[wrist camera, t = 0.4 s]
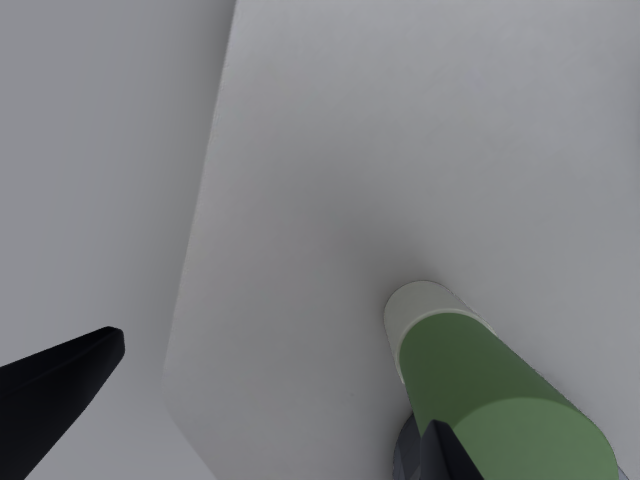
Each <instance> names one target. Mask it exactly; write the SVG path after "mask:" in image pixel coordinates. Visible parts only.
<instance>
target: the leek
mask: <svg viewBox="0 0 640 480" xmlns="http://www.w3.org/2000/svg"><path fill="white" fill-rule="evenodd" d="M384 325H385V329H386V333H387V336H388V340H389V344H390V347H391V351H392V354H393V358H394V362H395V365H396V369H397V372H398V375H399V377H400V379H401V381H402V382H403V384H404V385H405V387H406V389H407V393H408V396H409V399H410V403H411V406H412V409H413V413H414V416H415V420H416V423H417V426H418V430H419V433H420V436H421V438H422V435H423V434H424V432H425V430H426V428H427V426H428V424H429V422H430V421H431V420H432V419H436V420H440V421H443V422H446V423H448V424H449V425H450V427H451V428H452V430H453V431H454V433H455V434H456V436H457V438H458V439H459V441H460V442H461V444H462V445H463V447H464V448H465V450H466V451H467V453H468V455H469V456H470V458H471V459H472V461H473V462H474V464H475V465H476V467H477V469H478V470H479V472H480V473H481V475H482V476H483V478H484V479H485V480H619V473H618V466H617V462H616V458H615V455H614V452H613V450H612V448H611V446H610V444H609V442H608V440H607V439H606V437H605V436H604V434H603V433H602V432H601V431H600V429H599V428H598V427H597V426H596V425H595V424H594V423H593V422H592V421H591V420H590V419H589V418H587V417H586V416H585V415H584V414H583V413H582V412H581V411H580V410H578V409H577V408H576V407H575V406H574V405H573V404H572V403H571V402H569V401H568V400H567V399H566V398H565V397H564V396H563V395H562V394H560V393H559V392H558V391H557V390H556V389H555V388H554V387H553V386H552V385H550V384H549V383H548V382H547V381H546V380H545V379H544V378H543V377H541V376H540V375H539V374H538V373H537V372H536V371H535V370H534V369H532V368H531V367H530V366H529V365H528V364H527V363H526V362H525V361H523V360H522V359H521V358H520V357H519V356H518V355H517V354H516V353H514V352H513V351H512V350H511V349H510V348H509V347H508V346H507V345H506V344H504V343H503V342H502V341H501V340H500V339H499V338H498V336H497V334H496V333H495V331H494V330H493V329H492V327H491V326H490V325H489V324H488V323H487V322H486V321H484V320H483V319H482V318H481V317H480V316H479V315H477V314H476V313H475V312H474V311H473V310H472V309H470V308H469V307H468V306H467V305H466V304H465V303H463V302H462V301H461V300H460V299H459V298H457V297H456V296H455V295H454V294H453V293H452V292H450V291H449V290H448V289H447V288H445V287H444V286H442V285H440V284H437V283H434V282H430V281H416V282H411V283H408V284H406V285H404V286H402V287H400V288H399V289H398V290H396V291H395V292H394V293H393V294H392V296H391V297H390V298H389V300H388V302H387V304H386V307H385V311H384Z"/></svg>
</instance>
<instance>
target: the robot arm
mask: <svg viewBox="0 0 640 480" xmlns="http://www.w3.org/2000/svg"><path fill="white" fill-rule="evenodd" d="M124 353H125V344H124V334H123V331H122V330H121V329H118V328H114V327H110V326H107V327H104V328H101V329H98V330H96V331H93V332H91V333H88V334H85V335H83V336H80V337H78V338H75V339H72V340H70V341H67V342H65V343H62V344H59V345H57V346H54V347H52V348H49V349H46V350H44V351H41V352H38V353H36V354H33V355H31V356H28V357H25V358H23V359H20V360H18V361H15V362H13V363H10V364H7V365H5V366H2V367H0V480H24V479H25V478H26V477H27V476H28V475H29V473H30V472H31V471H32V470H33V469H34V468H35V466H36V465H37V464H38V463H39V462H40V461H41V460H42V458H43V457H44V456H45V455H46V454H47V453H48V451H49V450H50V449H51V448H52V447H53V446H54V445H55V443H56V442H57V441H58V440H59V439H60V438H61V436H62V435H63V434H64V433H65V432H66V431H67V430H68V428H69V427H70V426H71V425H72V424H73V423H74V422H75V420H76V419H77V418H78V417H79V416H80V415H81V413H82V412H83V411H84V410H85V408H86V407H87V406H88V405H89V403H90V402H91V401H92V399H93V398H94V397H95V395H96V394H97V392H98V391H99V390H100V388H101V387H102V386H103V384H104V383H105V382H106V380H107V379H108V377H109V376H110V375H111V373H112V372H113V370H114V369H115V368H116V366H117V365H118V364H119V362H120V361H121V359H122V358H123V356H124ZM420 476H421V480H485V479H484V478H483V476H482V475H481V473H480V472H479V470H478V469H477V467H476V465H475V464H474V462H473V461H472V459H471V458H470V456H469V455H468V453H467V451H466V450H465V448H464V447H463V445H462V444H461V442H460V441H459V439H458V438H457V436H456V434H455V433H454V431H453V430H452V428H451V427H450V425H449V424H448V423H446V422H443V421H440V420H436V419H432V420H431V421H430V422H429V424H428V426H427V428H426V430H425V432H424V434H423V435H422V438H421V442H420Z"/></svg>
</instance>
